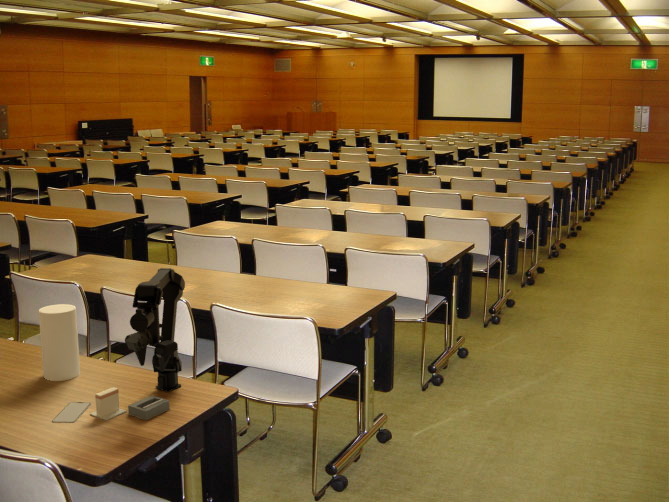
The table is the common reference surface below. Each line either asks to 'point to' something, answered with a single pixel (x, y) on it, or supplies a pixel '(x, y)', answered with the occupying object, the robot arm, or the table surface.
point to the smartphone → (71, 412)
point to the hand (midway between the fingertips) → (152, 368)
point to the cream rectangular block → (107, 401)
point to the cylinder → (59, 342)
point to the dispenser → (148, 407)
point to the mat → (110, 415)
